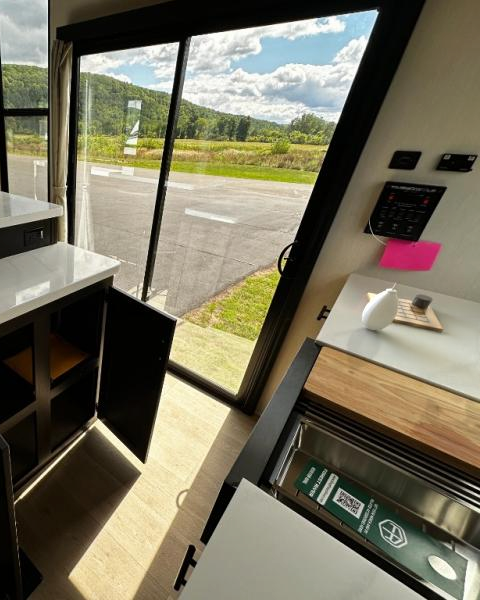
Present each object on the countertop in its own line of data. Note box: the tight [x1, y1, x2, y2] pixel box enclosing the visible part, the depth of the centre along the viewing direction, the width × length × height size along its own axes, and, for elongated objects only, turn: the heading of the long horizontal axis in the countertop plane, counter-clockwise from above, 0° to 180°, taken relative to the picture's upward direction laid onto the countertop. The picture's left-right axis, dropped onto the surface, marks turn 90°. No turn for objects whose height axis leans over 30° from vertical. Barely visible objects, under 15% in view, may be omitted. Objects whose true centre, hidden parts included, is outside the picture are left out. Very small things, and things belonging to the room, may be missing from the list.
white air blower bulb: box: [361, 282, 399, 331], centre depth 104 cm, size 8×8×18 cm
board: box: [366, 292, 444, 333], centre depth 116 cm, size 18×18×1 cm
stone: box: [412, 294, 433, 308], centre depth 117 cm, size 4×4×3 cm
